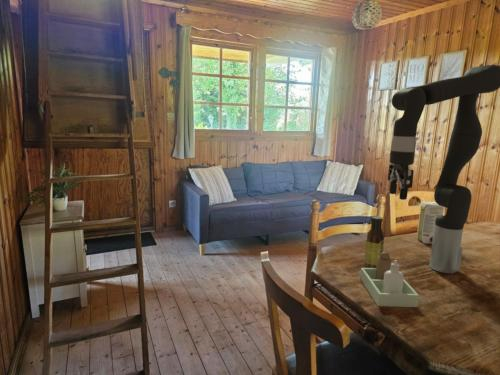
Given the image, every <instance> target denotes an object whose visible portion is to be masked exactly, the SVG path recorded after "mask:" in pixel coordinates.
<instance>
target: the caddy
mask: <svg viewBox="0 0 500 375" xmlns="http://www.w3.org/2000/svg"><path fill="white" fill-rule="evenodd" d="M391 263H392V258H391V256H390V254H389V252H387V251H383V252H381V253H380V256H378V257H377V267H376V268H368V267H360V273H359V279H360V280H361V282H362V283H363V285H364V286H365V289H366V290H367V291H368V293H369V295H370V297H372V300H374V302H375V304H376V305H377V307H394V308H396V307H397V308H398V307H399V308H400V307H401V308H402V307H403V308H418V305H419V298H420V297H419V296H420V295H419V294H418V292H417V291H416V290H415V289H414V288H413V287H412V286H411V285H410V284H409V283H408V282H407V281H406V280H405V278H404V279H403V288H402V293H382V290H383V281H384V273H385V272H386V271H388V270H390V268H391Z"/></svg>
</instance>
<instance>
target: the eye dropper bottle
mask: <svg viewBox="0 0 500 375" xmlns="http://www.w3.org/2000/svg"><path fill="white" fill-rule="evenodd" d="M403 279H404V280H405V277H404V274H403V272H401V271H400V264H399V263H398V260H397V259H394V260H393V262H391V267H390V270H388V271H386V272H385V273H384V281H383V290H382V293H402V288H403Z"/></svg>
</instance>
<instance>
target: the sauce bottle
mask: <svg viewBox="0 0 500 375" xmlns="http://www.w3.org/2000/svg"><path fill="white" fill-rule="evenodd" d="M370 218H371V221H370V222H371V226H370V229H369V230H368V232H367V235H366V244H365V256H364V266H365V268H376V267H377V257H378V256H380V253H381V252H384V243H385V242H384V241H385V237H384V233H383V230H382V227H383V226H382V225H383V220H384V219H383V217H381V216H378V215H374V216H371V217H370Z"/></svg>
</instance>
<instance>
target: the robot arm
mask: <svg viewBox="0 0 500 375" xmlns="http://www.w3.org/2000/svg"><path fill="white" fill-rule="evenodd" d="M499 89H500V65H495V64H487V65H480V66H475V67H471V68H468V69H467V70H466V71H465V73H464V74H463V75H462V76H458V77H451V78H444V79H440V80H436V81H433V82H427V83H425V84H422V85H418V86H410V87H406V88H401V89H399V90H397V91H395V93H394V95H392V98H391V105H392V106H393V108H394V109H395V110H398V111H402V112H403V111H404V112H403V115H402V116H401V117H399V118H397V119H395V121H394V122H393V123H394V125H393V132H392V138H391V145H390V154H389V163H390V164H389V166H388V174H387V181H388V182H389V191H388V192H389V194H390V195H396V194H397V189H398V184H399V186H400V189H399V197H398V199H399V200H405V201H406V200H407V199H408V192H409V191H408V190H409V189H412V188H413V182H414V173H415V171H414V169H409V166H412V165H414V162H415V156H416V146H417V130H418V124H419V122H420V119H421V117H422V115H423V112H424V110H425V109H424V108H425V107H426V106H429V105H435V104H438V103H442V102H445V101H448V100H452V99H455V98H458V104H457V109H456V115H455V120H454V124H453V128H452V130H451V134H450V138H449V142H448V146H447V153H446V155H445V159H444V163H443V166H442V170H441V172H440V175H439V178H438V180H437V184H436V186H435V189H434V193H433V194H434V195H433V198H434V202H436V203H437V204H438V205H440V206H443V207H444V208H446V212H445V214H444V215H443V216H438V217H437V218H436V220H435V227H434V234H433V242H432V244H431V250H430V256H429V257H430V258H429V268H431V269H432V270H434V271H436V272H439V273H443V274H455V273H459V272H460V268H461V261H462V256H463V250H464V249H463V247H461V244H462V237H463V234H464V233H463V232H464V226H465V224H466V222H467V221H468V218H469V213H470V209H471V203H472V191H471V190H470V188H468V187H466V186H463V185H459V184H458V179H459V176H460V173H461V172H462V170H463V169H464V167H465V166H466V165H467V164H468V163H469V162H470V161H471V160H472V159H473V158H474V156H476V154H477V152H478V150H479V148H480V143H481V140H482V135H483V128H482V124H481V122H480V119H479V116H478V113H477V104H478V97H479V95H480V94H489V93H494V92H496V91H498V90H499Z"/></svg>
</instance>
